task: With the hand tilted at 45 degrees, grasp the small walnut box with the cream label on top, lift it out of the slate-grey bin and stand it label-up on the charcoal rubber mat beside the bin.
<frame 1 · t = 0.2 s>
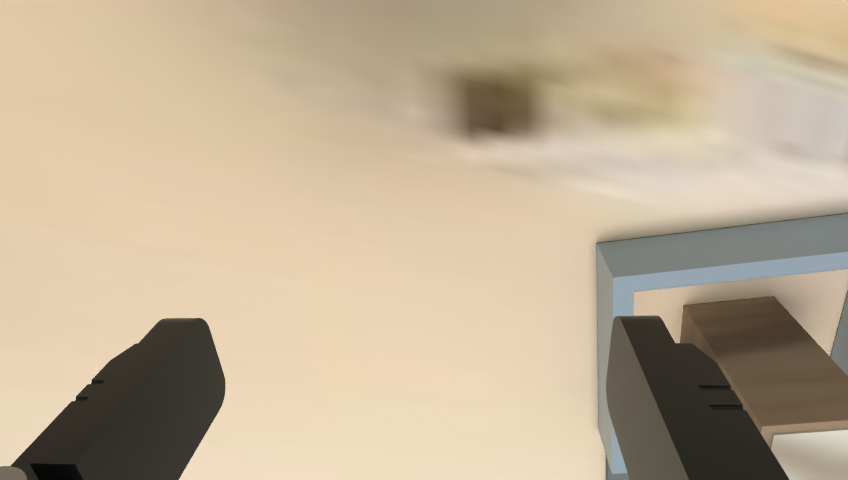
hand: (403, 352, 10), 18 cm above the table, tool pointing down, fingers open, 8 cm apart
walnut box: (762, 388, 28), in the grey bin
grey bin: (723, 334, 32), on the table
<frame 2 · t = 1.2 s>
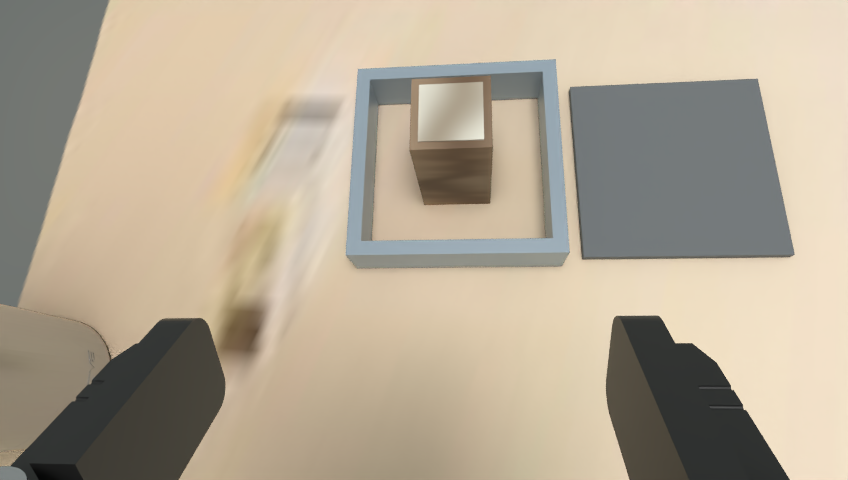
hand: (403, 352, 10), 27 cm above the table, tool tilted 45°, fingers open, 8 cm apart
walnut box: (454, 146, 36), in the grey bin
grey bin: (457, 174, 41), on the table
rubber mat: (671, 168, 39), on the table
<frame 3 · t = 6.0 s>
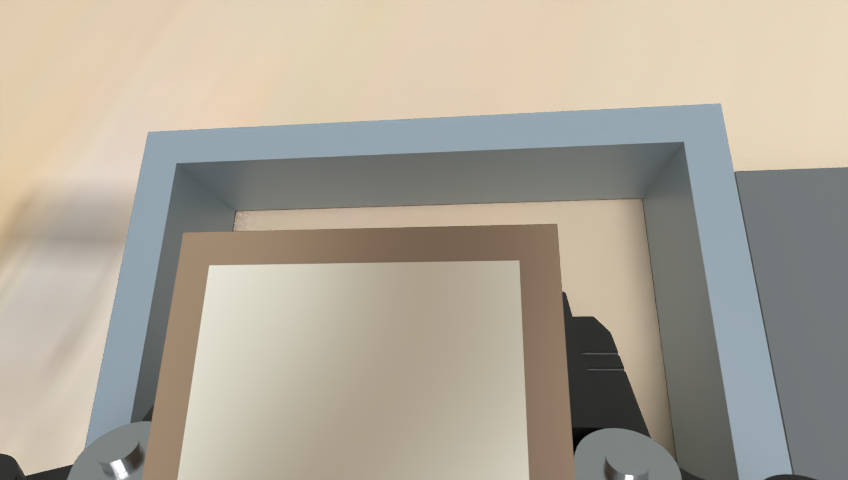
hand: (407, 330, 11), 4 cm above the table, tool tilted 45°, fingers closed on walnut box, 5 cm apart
walnut box: (405, 423, 10), in the grey bin, touching gripper
grey bin: (428, 420, 15), on the table
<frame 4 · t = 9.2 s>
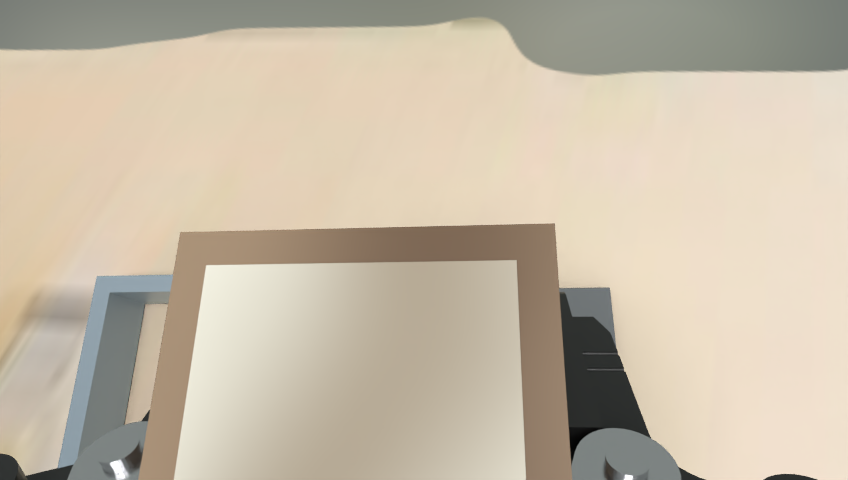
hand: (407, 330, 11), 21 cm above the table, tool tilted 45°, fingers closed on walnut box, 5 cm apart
walnut box: (404, 423, 10), point 21 cm above the table, touching gripper
grey bin: (228, 408, 31), on the table
rubber mat: (495, 410, 30), on the table
when the fingers open (6 cm above the table, at t = 12.6 s): walnut box drops 1 cm, resting on rubber mat.
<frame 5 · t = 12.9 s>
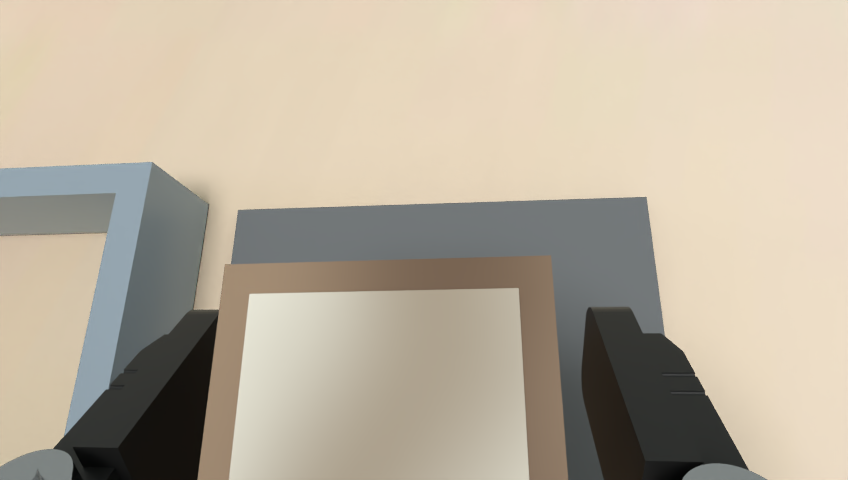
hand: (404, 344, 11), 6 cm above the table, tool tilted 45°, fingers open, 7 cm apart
walnut box: (417, 427, 11), on the rubber mat, point 5 cm above the table
rubber mat: (434, 419, 16), on the table
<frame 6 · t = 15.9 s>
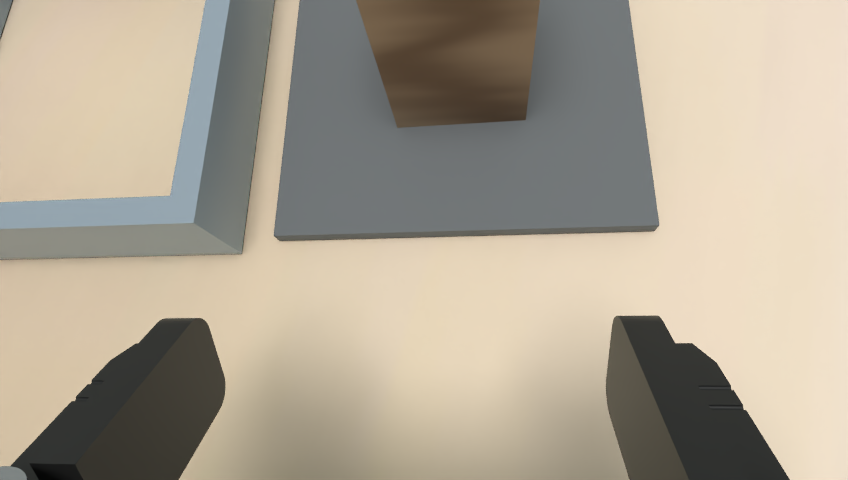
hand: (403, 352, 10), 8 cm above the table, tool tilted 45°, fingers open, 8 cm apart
grey bin: (104, 99, 24), on the table
rubber mat: (457, 77, 22), on the table
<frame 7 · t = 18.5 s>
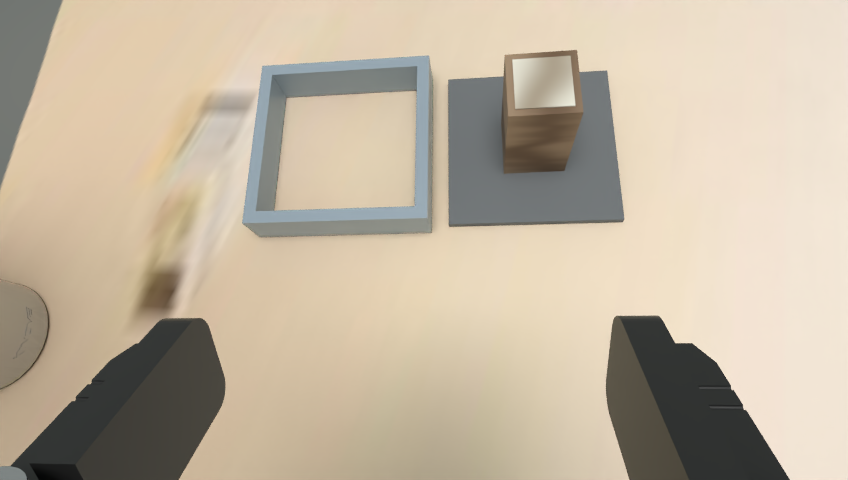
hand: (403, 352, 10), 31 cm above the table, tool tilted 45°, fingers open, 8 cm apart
walnut box: (536, 117, 40), on the rubber mat, point 5 cm above the table
grey bin: (349, 155, 47), on the table
rubber mat: (530, 148, 45), on the table
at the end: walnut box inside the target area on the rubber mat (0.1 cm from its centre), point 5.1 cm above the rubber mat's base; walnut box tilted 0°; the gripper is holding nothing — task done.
